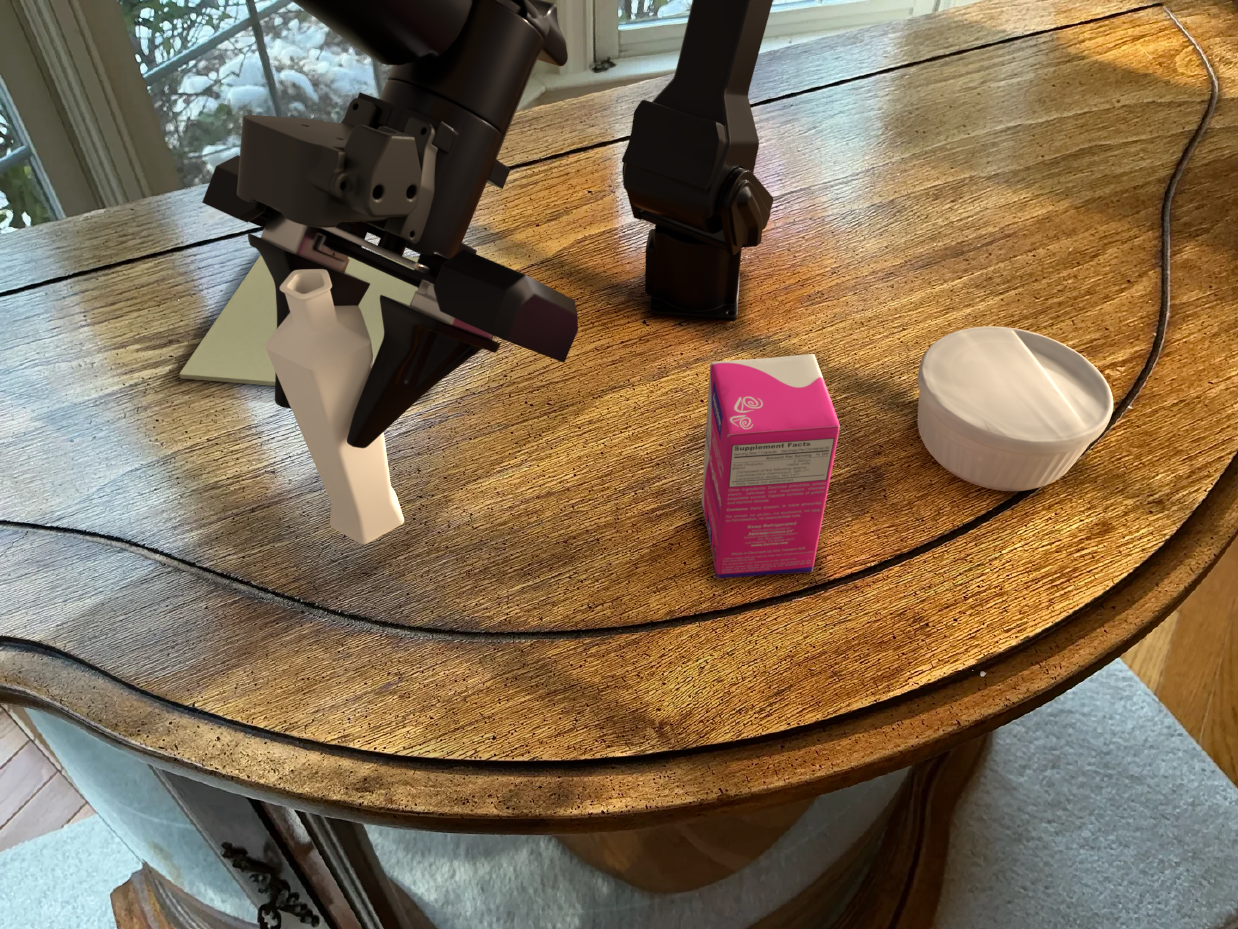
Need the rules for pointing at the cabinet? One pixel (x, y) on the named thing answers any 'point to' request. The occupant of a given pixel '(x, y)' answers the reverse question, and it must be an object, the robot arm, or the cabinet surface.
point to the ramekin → (1009, 406)
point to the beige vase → (333, 402)
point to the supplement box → (767, 464)
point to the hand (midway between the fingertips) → (318, 426)
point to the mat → (253, 320)
